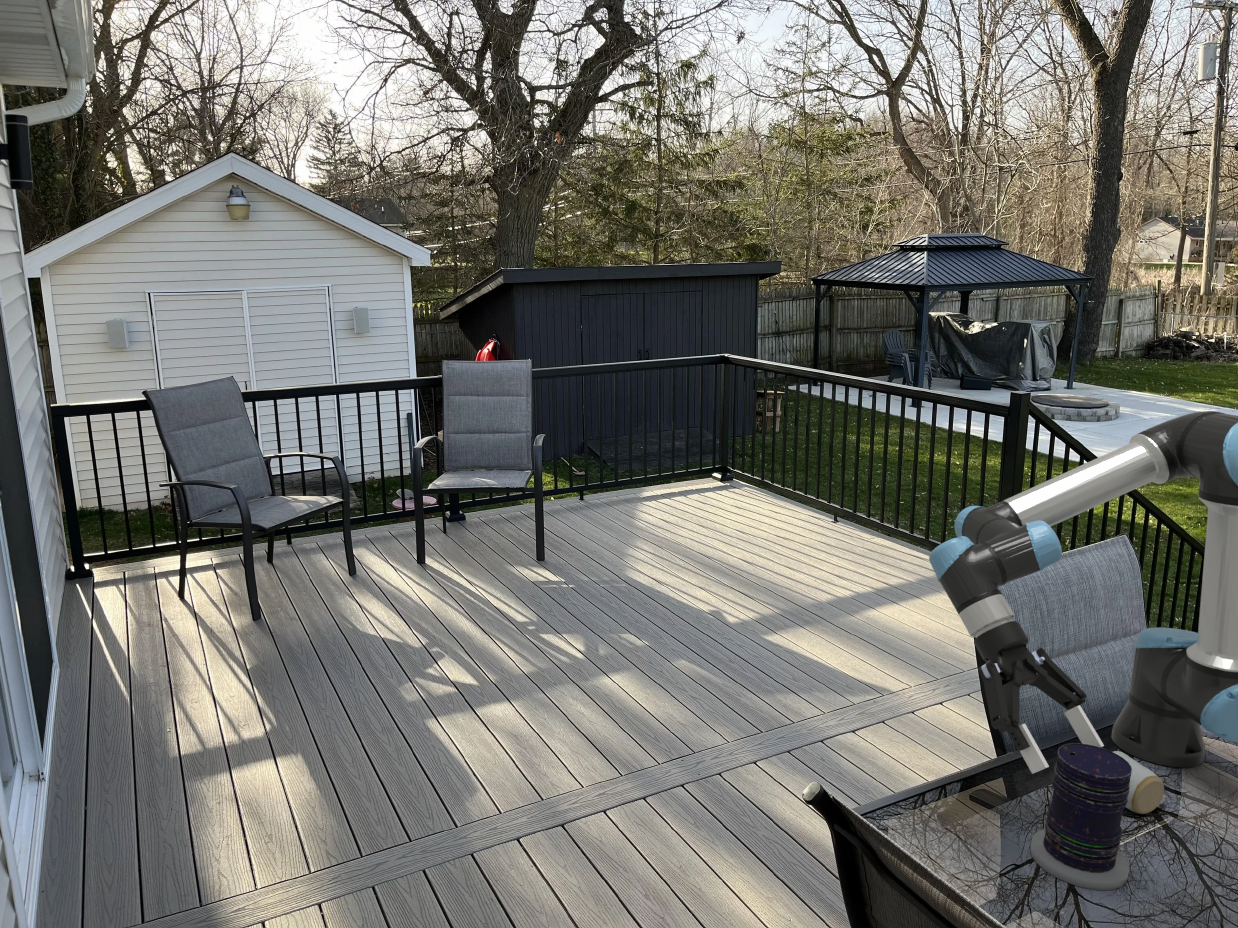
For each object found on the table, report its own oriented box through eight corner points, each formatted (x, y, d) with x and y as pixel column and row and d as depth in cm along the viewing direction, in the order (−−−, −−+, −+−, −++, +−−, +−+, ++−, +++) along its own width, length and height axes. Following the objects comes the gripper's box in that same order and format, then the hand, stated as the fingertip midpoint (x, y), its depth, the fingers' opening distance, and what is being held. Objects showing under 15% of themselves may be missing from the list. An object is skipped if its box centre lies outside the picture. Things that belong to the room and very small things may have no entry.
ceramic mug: (1132, 820, 148) (1140, 776, 147) (1089, 794, 156) (1096, 752, 154) (1177, 810, 152) (1185, 767, 151) (1133, 785, 160) (1141, 744, 158)
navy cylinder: (1118, 847, 138) (1134, 755, 135) (1115, 882, 130) (1132, 785, 127) (1045, 824, 143) (1060, 736, 140) (1038, 857, 134) (1053, 763, 131)
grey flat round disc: (1123, 851, 140) (1125, 841, 139) (1131, 900, 128) (1133, 890, 128) (1030, 827, 145) (1032, 818, 145) (1030, 873, 133) (1031, 863, 133)
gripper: (1026, 627, 155) (1098, 749, 145) (925, 652, 142) (997, 787, 133) (1059, 607, 150) (1136, 732, 140) (958, 631, 137) (1035, 771, 127)
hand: (1069, 759), depth 136 cm, fingers open, 13 cm apart
